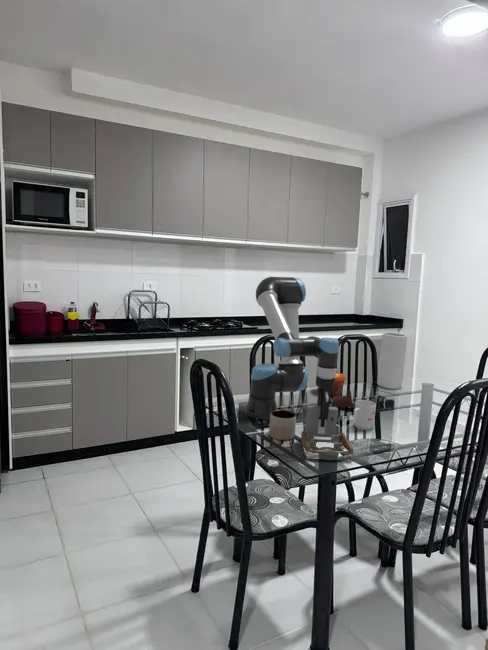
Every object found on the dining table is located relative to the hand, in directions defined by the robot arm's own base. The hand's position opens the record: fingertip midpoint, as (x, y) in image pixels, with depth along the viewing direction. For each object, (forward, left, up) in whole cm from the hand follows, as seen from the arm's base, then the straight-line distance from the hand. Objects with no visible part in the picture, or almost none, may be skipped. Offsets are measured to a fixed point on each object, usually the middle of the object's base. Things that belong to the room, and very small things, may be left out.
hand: (320, 431), depth 187 cm
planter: (-15, +3, -4) cm, 16 cm away
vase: (+58, +85, -4) cm, 103 cm away
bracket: (+23, +40, -4) cm, 47 cm away
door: (0, 0, -2) cm, 2 cm away
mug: (+22, +16, -4) cm, 27 cm away
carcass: (0, -11, -4) cm, 12 cm away
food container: (+18, +65, -4) cm, 67 cm away
